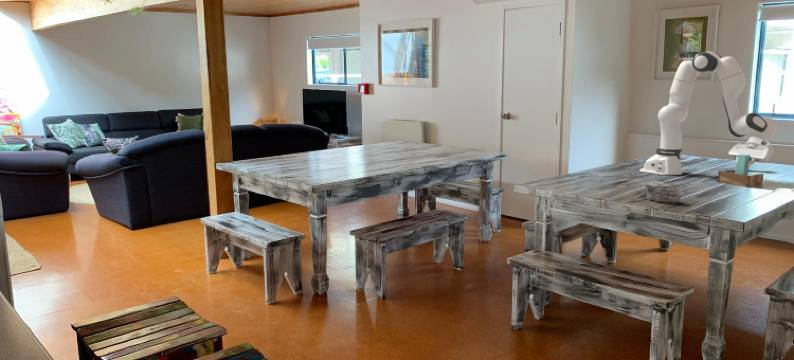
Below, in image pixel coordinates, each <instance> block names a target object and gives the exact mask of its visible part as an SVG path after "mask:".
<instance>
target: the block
mask: <svg viewBox="0 0 794 360" xmlns="http://www.w3.org/2000/svg"><path fill="white" fill-rule="evenodd" d="M736 161H737V165H736V169H735V174H741V175H747V176H749V170H750V167H746V163H747V162H749V161H750V155H745V154H739V155H738V157H737V159H736Z"/></svg>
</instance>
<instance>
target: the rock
mask: <svg viewBox="0 0 794 360" xmlns="http://www.w3.org/2000/svg"><path fill="white" fill-rule="evenodd" d="M644 185H645V187H646V199H649V200H652V201H654V202H658V203H669V204H674V203H676V202H680V200H681V199H682V195H681V194H680V192H679V190H678V188H677V186H676V185H675V184H673V183H671V182H670V183H663V182H657V181H656V182H652V181H651V182H645V184H644Z"/></svg>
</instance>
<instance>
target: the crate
mask: <svg viewBox="0 0 794 360" xmlns="http://www.w3.org/2000/svg"><path fill="white" fill-rule="evenodd" d="M717 172H718V173H717V183H721V184H726V185H732V186H735V187H736V186H738V187H744V188H754V187H757V186H759V185H763V186H764V184H763V182H764V173H757V174H750V175H749V174H748V176H747V175H741V174H736V169H734V168H732V169H725V170H719V171H717Z"/></svg>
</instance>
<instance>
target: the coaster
mask: <svg viewBox="0 0 794 360" xmlns="http://www.w3.org/2000/svg"><path fill="white" fill-rule="evenodd" d="M755 189H759V190H760V189H761V190H768V191H772V193H774V192H775V190H776V189H778V186H771V185H764V184H763V185H759V186H755Z"/></svg>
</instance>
